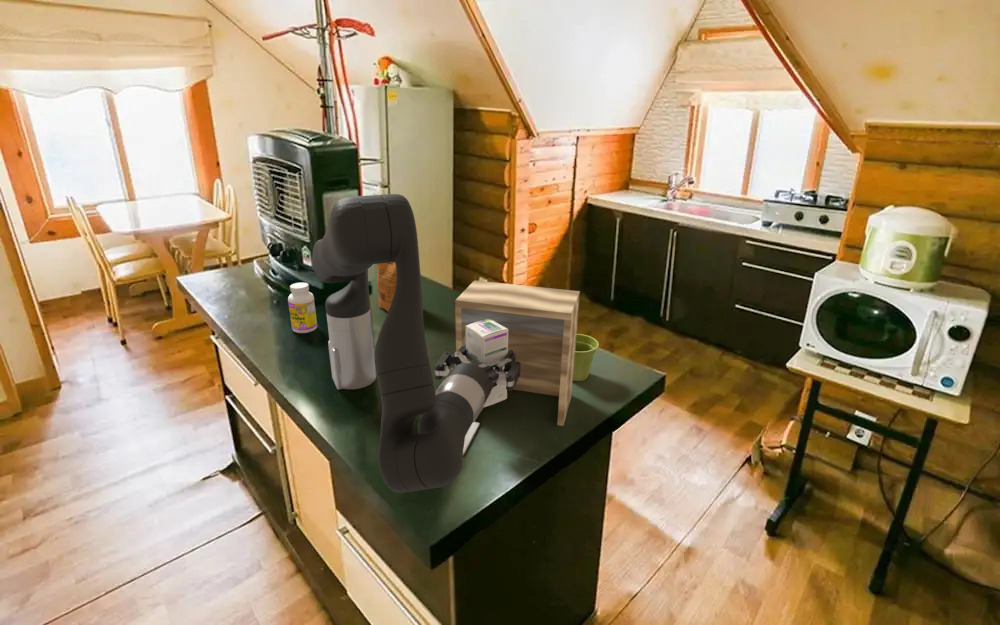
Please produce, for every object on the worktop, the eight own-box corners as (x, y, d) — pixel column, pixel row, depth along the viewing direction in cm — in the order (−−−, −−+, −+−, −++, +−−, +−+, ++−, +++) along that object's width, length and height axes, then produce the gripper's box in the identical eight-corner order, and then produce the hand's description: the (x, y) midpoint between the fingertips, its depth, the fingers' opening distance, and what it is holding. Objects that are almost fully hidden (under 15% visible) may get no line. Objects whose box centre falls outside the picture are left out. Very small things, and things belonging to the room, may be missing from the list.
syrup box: (508, 399, 100) (510, 327, 94) (482, 409, 96) (483, 335, 91) (490, 386, 104) (491, 317, 98) (464, 395, 100) (464, 324, 95)
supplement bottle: (286, 331, 147) (280, 287, 142) (303, 322, 152) (297, 279, 147) (306, 335, 144) (300, 290, 139) (322, 326, 150) (317, 283, 145)
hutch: (563, 426, 107) (571, 313, 98) (457, 408, 113) (455, 300, 103) (571, 395, 118) (579, 291, 109) (474, 380, 123) (474, 280, 114)
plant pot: (603, 381, 124) (606, 348, 121) (566, 388, 121) (569, 354, 118) (583, 363, 132) (586, 331, 129) (548, 369, 129) (550, 336, 126)
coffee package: (399, 298, 171) (395, 230, 162) (424, 309, 163) (421, 238, 155) (373, 307, 164) (367, 236, 156) (398, 318, 156) (393, 245, 148)
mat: (463, 455, 98) (463, 452, 98) (412, 445, 101) (412, 443, 100) (479, 424, 107) (479, 422, 107) (432, 417, 110) (432, 414, 109)
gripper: (506, 382, 81) (528, 338, 95) (417, 369, 84) (452, 328, 99) (504, 424, 84) (526, 375, 98) (419, 410, 87) (452, 364, 102)
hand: (489, 351), depth 98 cm, fingers closed on syrup box, 7 cm apart
